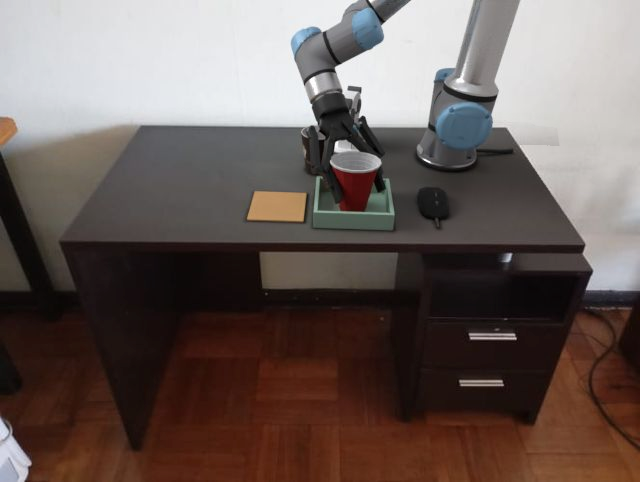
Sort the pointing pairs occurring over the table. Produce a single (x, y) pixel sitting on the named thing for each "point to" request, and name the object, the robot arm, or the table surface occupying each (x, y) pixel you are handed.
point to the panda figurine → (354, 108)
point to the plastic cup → (355, 178)
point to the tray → (373, 217)
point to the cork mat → (277, 207)
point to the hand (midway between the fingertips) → (361, 196)
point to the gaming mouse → (433, 203)
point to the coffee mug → (307, 149)
